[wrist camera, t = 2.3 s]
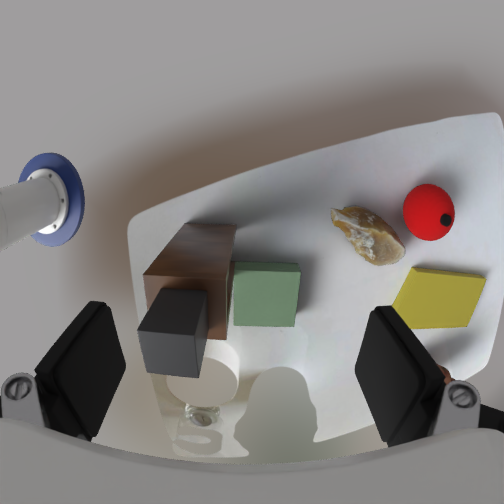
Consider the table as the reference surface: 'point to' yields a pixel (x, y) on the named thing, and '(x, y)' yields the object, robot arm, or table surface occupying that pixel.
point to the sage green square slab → (265, 293)
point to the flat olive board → (438, 298)
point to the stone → (369, 235)
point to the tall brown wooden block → (198, 270)
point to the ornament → (428, 212)
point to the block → (175, 332)
